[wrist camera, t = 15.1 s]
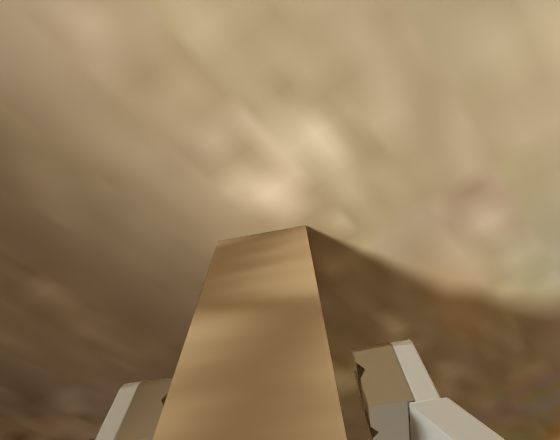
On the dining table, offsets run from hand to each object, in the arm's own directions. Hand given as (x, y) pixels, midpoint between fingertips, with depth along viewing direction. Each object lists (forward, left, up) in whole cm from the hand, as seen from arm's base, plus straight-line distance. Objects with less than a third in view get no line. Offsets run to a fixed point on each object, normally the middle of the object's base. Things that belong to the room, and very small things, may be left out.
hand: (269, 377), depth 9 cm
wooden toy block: (0, 0, -5) cm, 5 cm away
